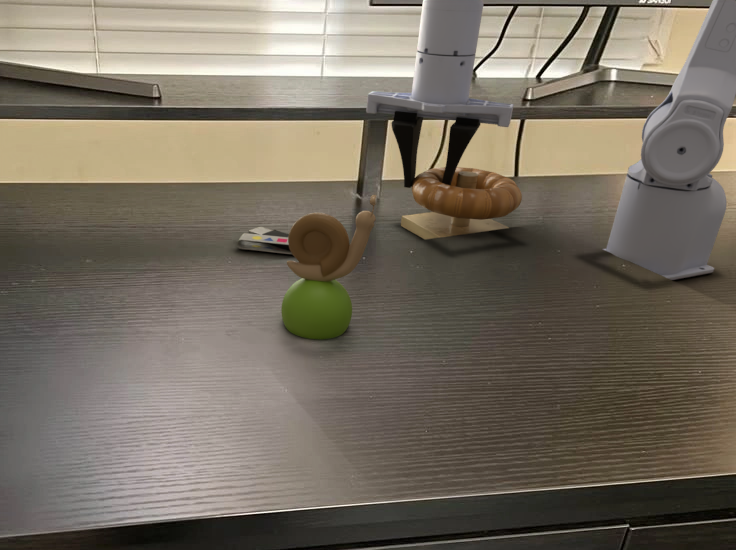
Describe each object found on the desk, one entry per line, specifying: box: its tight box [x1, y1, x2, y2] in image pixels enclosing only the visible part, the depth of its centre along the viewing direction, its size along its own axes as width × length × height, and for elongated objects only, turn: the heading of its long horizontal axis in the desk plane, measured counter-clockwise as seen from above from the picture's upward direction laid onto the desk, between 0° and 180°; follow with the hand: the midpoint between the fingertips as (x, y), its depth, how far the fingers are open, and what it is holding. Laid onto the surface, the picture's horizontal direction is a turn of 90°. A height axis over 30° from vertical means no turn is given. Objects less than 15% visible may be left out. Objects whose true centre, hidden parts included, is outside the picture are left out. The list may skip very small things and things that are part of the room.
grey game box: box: [236, 226, 293, 255], centre depth 75 cm, size 9×5×1 cm, turn 49°
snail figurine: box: [280, 194, 378, 340], centre depth 55 cm, size 5×6×12 cm
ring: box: [411, 166, 523, 220], centre depth 79 cm, size 11×11×3 cm
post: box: [400, 171, 510, 240], centre depth 80 cm, size 9×9×7 cm
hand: (426, 187), depth 80 cm, fingers closed on ring, 3 cm apart
